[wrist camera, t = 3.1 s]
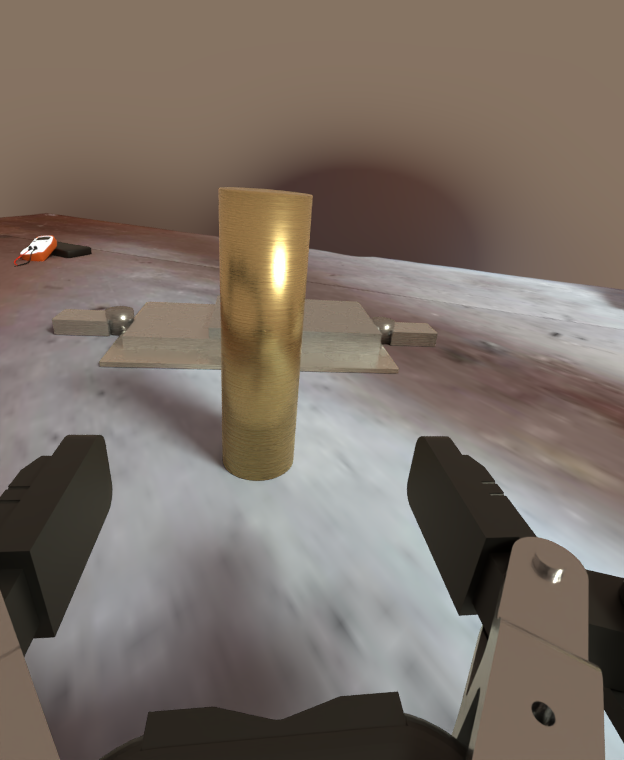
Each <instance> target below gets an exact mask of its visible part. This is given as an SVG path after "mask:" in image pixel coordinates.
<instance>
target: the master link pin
mask: <svg viewBox="0 0 624 760" xmlns="http://www.w3.org/2000/svg"><path fill="white" fill-rule="evenodd" d="M312 197H313V196H312V195H309V194H304V193H297V192H288V191H279V190H267V189H255V188H236V187H221V188H219V251H220V316H221V382H222V448H223V464H224V466H225V468H226V469H227V470H228V471H229V472H230V473H232V474H233V475H235V476H237V477H239V478H243V479H247V480H255V481H260V480H269V479H273V478H276V477H278V476H281V475H282V474H284V473H285V472H287V471H288V470H289V469H290V467H291V466H292V464H293V457H294V443H295V429H296V416H297V402H298V388H299V375H300V361H301V347H302V334H303V320H304V306H305V293H306V279H307V266H308V252H309V238H310V223H311V211H312Z"/></svg>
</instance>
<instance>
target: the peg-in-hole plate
mask: <svg viewBox="0 0 624 760" xmlns="http://www.w3.org/2000/svg"><path fill="white" fill-rule="evenodd" d="M52 324H53V329H54V334H57V335H88V336H110V335H111V334H112V335H120V336H119V338H118V339H117V340H116V341H115V343H114V344H113V345H112V346H111V348H110V349H109V350H108V351H107V353H106V354H105V355H104V356H103V358H102V359H101V360H100V361H99V364H100V367H141V368H185V369H221V316H220V295H218V297H217V301H216V304H215V305H213V304H190V303H167V302H146V304H145V305H144V306H143V307H142V309H141V310H140V311H139V312H138V314H137V315H136V316H135V317H134V310H133V308H131V307H126V306H116V307H110V308H107V309H106V310H105V311H100V310H75V309H65V310H63V311H62V312H61V313H59V314H58V315H57V316H55V317H54V318H53V319H52ZM437 335H438V333H437V332H436V331H435V330H434V329H432V328H431V327H430V326H429V325H428V324H426V323H401V322H395V321H394V320H392V319H389V318H385V317H373V318H370V317H369V316H368V314H367V313H366V312H365V310H364V309H363V308H362V306H361V305H360V303H359V302H350V301H329V300H307V299H305V306H304V320H303V334H302V347H301V361H300V371H315V372H358V373H398V371H399V369H398V367H397V366H396V364H395V363H394V361H393V360H392V358H391V357H390V356H389V354H388V353H387V351H386V350H385V348H384V347H383V345H382V344H388V343H389V344H390V345H398V346H429V347H435V344H436V340H437Z"/></svg>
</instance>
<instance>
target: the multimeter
mask: <svg viewBox="0 0 624 760" xmlns="http://www.w3.org/2000/svg"><path fill="white" fill-rule="evenodd" d="M90 254H92V253H91V248H90V247H87V246H80V245H73V244H68V243H62V242H57V241H56V239H55V237H54V236H50V235H49V236H39V237H37V238H36V239H35V240H34V241H33V242H32V243H31V244H30V245H29V246H28V247H27V248H26V249H24V250H23V251H22V252H21V253H20V256H19V257H18V258H20V257H21V258H22V259H23V260H27V261H28V262H27V263H29V262H30V261H45V260H46V259H47V257H48V256H49V255H54V256H59V257H64V258H73V257H78V256H84V255H90ZM18 258H17V259H18ZM17 259H16V260H17ZM16 260H15V261H16ZM15 261H14V263H15ZM27 263H24V264H27ZM24 264H20V265H24ZM15 265H17V264H16V263H15ZM20 265H17V266H20ZM14 267H15V266H14Z"/></svg>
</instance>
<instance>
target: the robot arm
mask: <svg viewBox="0 0 624 760" xmlns="http://www.w3.org/2000/svg"><path fill="white" fill-rule="evenodd" d="M8 487H9V488H8V490H5V491H4V493H3V494H2V495H1V497H0V760H60V758H59V755H58V752H57V749H56V747H55V744H54V741H53V738H52V735H51V732H50V730H49V727H48V724H47V721H46V718H45V715H44V713H43V710H42V707H41V704H40V701H39V698H38V696H37V693H36V690H35V687H34V684H33V682H32V679H31V676H30V673H29V670H28V667H27V665H26V662H25V659H24V657H25V654H26V652H27V650H28V648H29V646H30V644H31V642H32V640H33V638H50V637H55V636H56V633H57V631H58V629H59V626H60V624H61V622H62V619H63V617H64V615H65V612H66V610H67V608H68V605H69V603H70V601H71V598H72V596H73V594H74V591H75V589H76V587H77V584H78V582H79V580H80V577H81V575H82V573H83V570H84V568H85V566H86V563H87V561H88V559H89V556H90V554H91V552H92V549H93V547H94V545H95V542H96V540H97V538H98V535H99V533H100V531H101V528H102V526H103V524H104V521H105V519H106V517H107V514H108V512H109V509H110V506H111V500H112V481H111V475H110V468H109V462H108V456H107V450H106V444H105V440H104V437H103V436H102V435H67V436H66V437H65V438H64V439H63V440H62V442H61V443H60V445H59V446H58V448H57V449H56V450H55V452H54V453H53V455H52V456H41V457H39V458H38V459H36V460H35V461H33V462H32V463H30V464H29V465H28V466H26V467H25V468H23V469H22V470H21V471H20V472H19V473H18V475H17V476H16V477H15V478H14V480H13V481H12V482H11V484H10V485H9V486H8ZM407 496H408V501H409V505H410V507H411V509H412V512H413V514H414V516H415V518H416V521H417V523H418V525H419V527H420V529H421V532H422V534H423V536H424V538H425V541H426V543H427V545H428V547H429V550H430V552H431V554H432V556H433V559H434V561H435V563H436V565H437V568H438V570H439V572H440V574H441V576H442V579H443V581H444V583H445V585H446V588H447V590H448V592H449V594H450V597H451V599H452V601H453V603H454V606H455V608H456V610H457V612H458V614H459V616H462V615H478V616H479V618H480V620H481V622H482V627H481V629H480V632H479V635H478V639H477V643H476V647H475V651H474V655H473V659H472V663H471V667H470V671H469V675H468V679H467V683H466V687H465V691H464V695H463V699H462V703H461V706H460V710H459V713H458V717H457V720H456V723H455V726H454V729H453V732H452V735H450V734H449V733H447V732H446V731H444V730H443V729H441V728H440V727H438V726H436V725H434V724H432V723H430V722H428V721H426V720H424V719H421V718H419V717H416V716H413V715H410V714H406V713H404V712H403V708H402V705H401V701H400V697H399V693H398V692H387V693H375V694H363V695H351V696H340V697H337V698H335V699H332V700H330V701H327V702H325V703H322V704H320V705H317V706H315V707H312V708H310V709H307V710H305V711H302V712H300V713H297V714H295V715H292V716H290V717H287V718H285V719H281V720H273V719H268V718H263V717H259V716H254V715H249V714H245V713H240V712H236V711H231V710H226V709H222V708H217V707H204V708H191V709H179V710H167V711H155V712H148V717H147V722H146V727H145V732H144V735H143V736H140V737H138V738H135V739H133V740H131V741H129V742H127V743H125V744H123V745H121V746H119V747H117V748H116V749H114V750H113V751H111V752H110V753H108V754H107V755H105V756H104V757H102V758H100V759H99V760H605V739H604V710H605V712H606V714H607V715H608V717H609V719H610V720H611V722H612V724H613V726H614V727H615V729H616V731H617V732H618V734H619V736H620V738H621V739H622V741H623V743H624V578H620V577H616V576H612V575H607V574H603V573H599V572H594V571H590V570H586V569H585V568H584V566H583V565H582V564H581V562H580V561H579V560H578V559H577V558H576V557H575V556H574V555H573V554H572V553H571V552H569V551H568V550H566V549H565V548H563V547H562V546H560V545H558V544H556V543H554V542H552V541H549V540H546V539H543V538H538V537H537V536H536V535H535V534H534V532H533V531H532V530H531V528H530V527H529V526H528V524H527V523H526V522H525V520H524V519H523V518H522V516H521V515H520V514H519V512H518V511H517V510H516V508H515V507H514V506H513V504H512V503H511V502H510V500H509V499H508V498H507V496H504V492H503V491H502V490H501V488H500V487H499V486H498V484H495V480H494V479H493V478H492V476H491V475H490V474H489V472H488V471H487V470H486V468H485V467H484V466H482V465H481V464H480V463H478V462H477V461H476V460H474V459H473V458H471V457H470V456H469V455H462V454H461V452H460V451H459V450H458V448H457V447H456V445H455V444H454V443H453V441H452V440H451V439H450V438H449V437H447V436H421V437H419V438H418V440H417V442H416V446H415V451H414V455H413V460H412V464H411V469H410V473H409V478H408V483H407Z"/></svg>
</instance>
